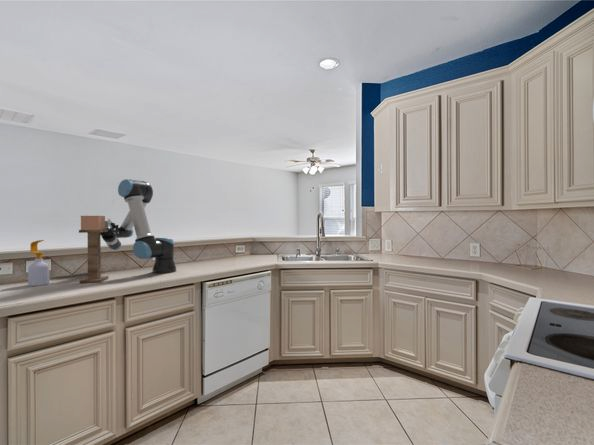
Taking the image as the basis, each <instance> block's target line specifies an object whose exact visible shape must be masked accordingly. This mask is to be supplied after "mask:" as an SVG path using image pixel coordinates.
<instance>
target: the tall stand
mask: <svg viewBox="0 0 594 445" xmlns="http://www.w3.org/2000/svg"><path fill="white" fill-rule="evenodd" d="M100 232H108V229H103V230H81V229H78V234H79V233H80V234H83V233H85V234H86V233H87V277H85V278H82V279H80V280H79V281H78V282H79V284H95V283H96V284H97V283H98V284H99V283H103V282H105V281H107V280H109V276H105V275H103V276H102V275H101V274H102V273H101V271H102V270H101V269H102V268H101V266H102V265H101V262H102V261H101V257H102V256H101V254H102V253H101V252H102V251H101V244H102V243H101V241H102V240H101V235H100Z"/></svg>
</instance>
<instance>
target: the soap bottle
mask: <svg viewBox="0 0 594 445" xmlns="http://www.w3.org/2000/svg"><path fill="white" fill-rule="evenodd" d="M44 241H45V240H44V239H39V240H36V241H32V242H31V243H30V253H31V254H35V256H36V257H35V258H34V262H32V263H31V264H29V265H28V268H27V276H28V278H27V283H28V285H27V286H30V287H41V286H47V285H49V284H50V265H49V264H48V263H47V262H44V260H43V257H42V255H43V254H45V253H46V252H45V251H38V244H39V243H41V242H44Z"/></svg>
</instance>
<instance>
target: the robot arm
mask: <svg viewBox="0 0 594 445" xmlns="http://www.w3.org/2000/svg"><path fill="white" fill-rule="evenodd" d="M117 193H118V195H119V196H120V197H122V198H123V199H124V202H125V203H126V204H128V209H129V211H128V213H127V214H126V216H125V218H124V220H123V222H122V223H121V225H120V227H119V224H116V223H115V222H112V220H111V219H110V218H108V219H107V221H108V224H109V227H105V229H108V232H100V237H101V238H102V240H103V241H104V242H105V244H106V245H107V246H108V248H109V249H110V248H111V249H113V250H118V249H120V248H121V249H122V247H121V245H122V243H121V241H120V240H119V239H122V238H123V239H124V238H131V237H132V236H133V235H134V231H135V235H136V238H135V240H134V243H133V246H132V251H133V254H134V255H135V257H137V259H140V260H145V259H146V260H148V259H155V260H154V264H153V266H152V271H151V272H152V273H155V274H169V273H174V272H177V266H176V263H175V261H174V260H175V259H174V240H173V238H168V237H155V235H153V234H152V232H151V229H150V225H149V220H148V217H147V213H146V210H145V208H146V206H147V204H149V203H150V202H151V201H152V199H153V195H154V190H153V186H152V185H151V184H150V183H149V182H148V181H145V180H135V179H128V178H127V179H125V178H124V179H123V180H122V181H120V183H119V185H118V188H117ZM111 249H110V250H111ZM121 249H120V250H121ZM118 251H119V250H118Z"/></svg>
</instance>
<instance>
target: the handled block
mask: <svg viewBox="0 0 594 445" xmlns="http://www.w3.org/2000/svg"><path fill="white" fill-rule="evenodd" d="M105 227H109V224H108V220H106V216H105V215H80V230H103V229H105Z"/></svg>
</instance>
